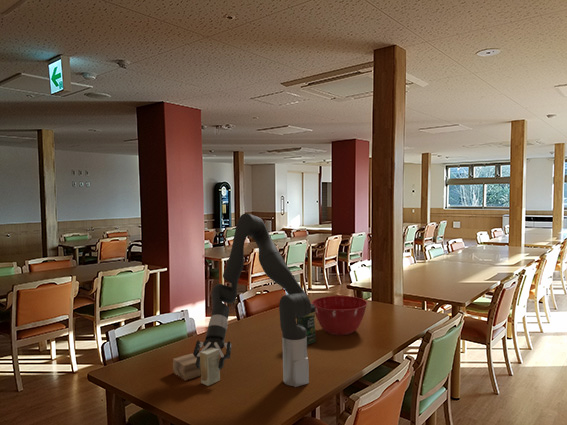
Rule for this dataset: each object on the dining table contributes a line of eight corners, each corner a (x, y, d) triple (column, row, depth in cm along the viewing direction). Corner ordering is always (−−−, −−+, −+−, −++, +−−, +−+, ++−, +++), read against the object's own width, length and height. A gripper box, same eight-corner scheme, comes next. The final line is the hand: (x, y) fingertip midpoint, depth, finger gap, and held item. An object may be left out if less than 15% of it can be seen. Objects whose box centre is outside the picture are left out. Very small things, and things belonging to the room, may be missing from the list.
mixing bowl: (338, 344, 199) (338, 312, 198) (301, 330, 222) (300, 301, 221) (379, 332, 216) (378, 302, 215) (340, 320, 239) (339, 293, 238)
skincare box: (213, 377, 165) (212, 346, 164) (220, 380, 162) (219, 349, 162) (200, 383, 160) (199, 351, 159) (207, 386, 157) (206, 354, 157)
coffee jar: (304, 347, 196) (303, 307, 196) (293, 343, 202) (292, 304, 202) (319, 342, 203) (318, 303, 202) (307, 338, 209) (306, 301, 208)
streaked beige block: (207, 373, 169) (207, 359, 169) (184, 381, 163) (184, 365, 163) (195, 366, 177) (195, 352, 177) (173, 373, 170) (172, 358, 170)
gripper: (197, 323, 169) (188, 363, 158) (232, 324, 167) (225, 364, 156) (202, 332, 174) (193, 371, 163) (236, 333, 172) (229, 372, 161)
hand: (208, 368), depth 160 cm, fingers open, 8 cm apart
